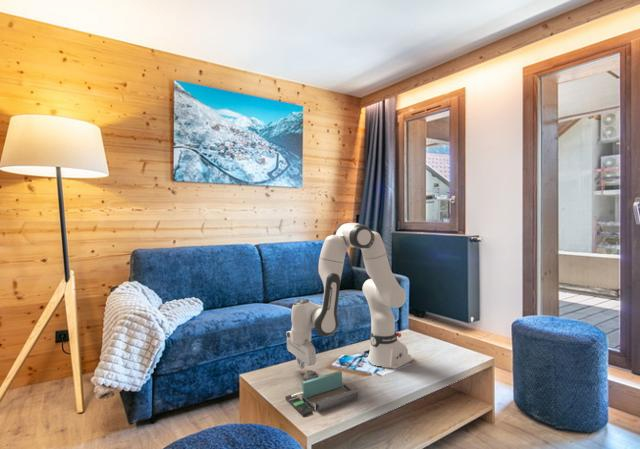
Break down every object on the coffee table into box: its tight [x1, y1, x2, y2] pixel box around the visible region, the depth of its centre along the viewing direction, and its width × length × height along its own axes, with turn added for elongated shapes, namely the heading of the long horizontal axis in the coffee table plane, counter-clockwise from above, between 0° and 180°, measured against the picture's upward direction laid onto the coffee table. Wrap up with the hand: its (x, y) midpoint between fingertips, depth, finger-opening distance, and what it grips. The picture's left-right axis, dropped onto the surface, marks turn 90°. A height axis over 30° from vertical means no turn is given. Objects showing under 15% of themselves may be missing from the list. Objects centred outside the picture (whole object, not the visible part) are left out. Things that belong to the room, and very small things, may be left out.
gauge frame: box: [285, 383, 359, 417], centre depth 143 cm, size 25×15×3 cm, turn 122°
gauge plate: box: [290, 370, 343, 399], centre depth 147 cm, size 23×2×6 cm, turn 122°
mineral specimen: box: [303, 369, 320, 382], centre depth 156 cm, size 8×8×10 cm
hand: (300, 367), depth 163 cm, fingers closed
